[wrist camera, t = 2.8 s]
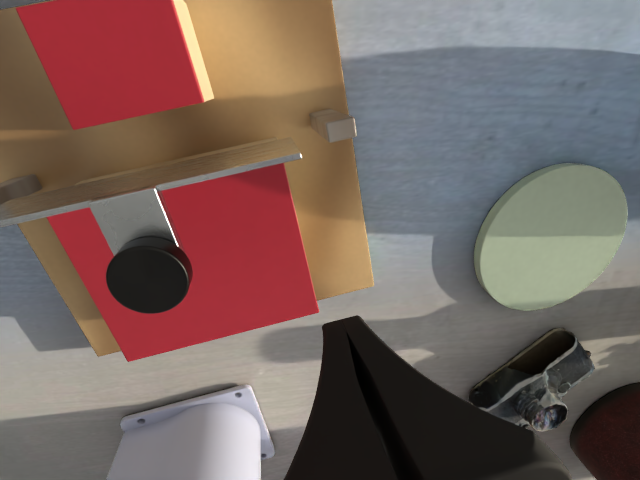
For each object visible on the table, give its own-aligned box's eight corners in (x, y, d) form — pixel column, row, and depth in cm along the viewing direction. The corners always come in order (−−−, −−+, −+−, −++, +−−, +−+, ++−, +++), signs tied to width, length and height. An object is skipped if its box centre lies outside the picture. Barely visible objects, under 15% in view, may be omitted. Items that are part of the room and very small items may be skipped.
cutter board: (103, 346, 23) (56, 427, 18) (-82, 31, 15) (-265, 4, 10) (370, 278, 24) (402, 335, 19) (320, -45, 17) (351, -107, 11)
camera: (585, 353, 31) (630, 391, 27) (487, 420, 32) (517, 464, 29) (563, 320, 29) (610, 356, 25) (460, 393, 30) (489, 438, 27)
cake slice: (111, 120, 17) (72, 130, 13) (71, 25, 15) (14, 7, 12) (214, 98, 17) (203, 102, 14) (186, 2, 16) (164, -22, 12)
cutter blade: (60, 282, 15) (-15, 358, 11) (10, 199, 14) (-99, 251, 9) (309, 222, 16) (328, 271, 12) (290, 136, 14) (304, 159, 10)
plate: (473, 320, 27) (479, 326, 27) (473, 183, 23) (480, 187, 22) (604, 285, 28) (613, 290, 27) (630, 146, 23) (642, 147, 23)
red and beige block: (149, 315, 22) (127, 362, 18) (82, 179, 18) (38, 204, 14) (309, 275, 22) (319, 312, 19) (276, 136, 19) (281, 149, 15)
